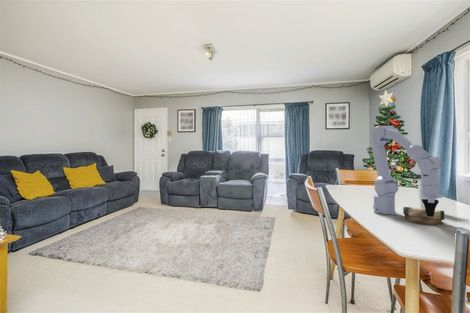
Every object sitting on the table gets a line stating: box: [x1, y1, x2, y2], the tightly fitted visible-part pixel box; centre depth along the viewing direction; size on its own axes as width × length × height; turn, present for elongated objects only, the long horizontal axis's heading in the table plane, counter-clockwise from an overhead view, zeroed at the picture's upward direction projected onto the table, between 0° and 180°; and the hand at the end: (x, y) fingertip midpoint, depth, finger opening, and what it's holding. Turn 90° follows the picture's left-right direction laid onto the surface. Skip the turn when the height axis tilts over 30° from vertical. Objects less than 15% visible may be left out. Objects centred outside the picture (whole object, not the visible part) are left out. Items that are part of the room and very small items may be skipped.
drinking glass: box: [417, 180, 426, 209], centre depth 120 cm, size 7×7×15 cm
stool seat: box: [404, 214, 443, 226], centre depth 106 cm, size 13×13×4 cm
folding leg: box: [402, 206, 445, 221], centre depth 104 cm, size 14×3×3 cm, turn 50°
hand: (430, 216), depth 101 cm, fingers closed, pressing on folding leg
